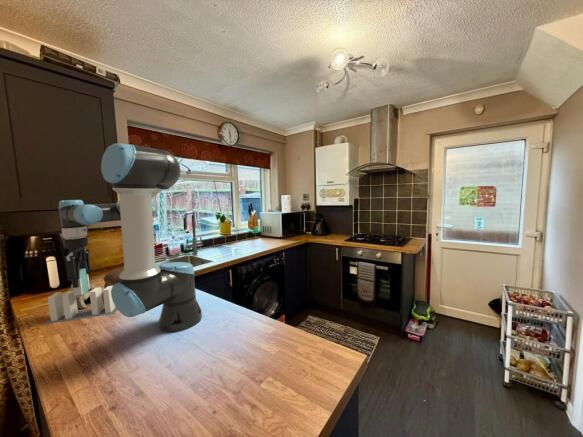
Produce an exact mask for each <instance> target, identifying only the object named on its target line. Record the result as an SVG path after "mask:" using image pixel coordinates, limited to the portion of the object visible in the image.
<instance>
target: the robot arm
mask: <svg viewBox="0 0 583 437" xmlns="http://www.w3.org/2000/svg"><path fill="white" fill-rule="evenodd" d="M101 158H102V159H101V163H100V165H101V166H100V169H101V175H102V176H103V179H104V180H105V181H106V182H107V183H110V184H111V187H112V190H113V191H115V192H116V193H117V194H118V200H117V201H116V202H115V203H114V202H113V203H99V204H98V203H97V204H96V203H95V204H93V203H92V204H91V203H90V204H84V201H83V200H82V199H67V200H66V199H65V200H63V199H62V200H59V201H58V211H59V219H60V226H61V236H62V238H63V240H62V242H63V243H62V244H63V248H64V249H66V250H67V249H68V255H65V256H63V259H64V262H65V268H66V269H65V270H66V276H67V281H69V282H71V285H73V293H74V295H82V294H83V291H82V283H81V279H79V274H80V269H83V268H86V277H87V285H88V289H90V286H91V285H90V279H89V274H92V268H91V261H90V249H89V248H85V247H87V246H88V245H89V238H88V237H87V236H88V230H89V229H88V228H87V226H89V225H95V224H98V223H99V224H100V223H108V222H109V223H110V222H120V227H121V239H122V240H121V241H122V242H121V244H122V254H123V268H124V270H123V271H122V272H121V273H120V274H119V283H116V284H115V285H114V286H113V287H112V289H111V296H112V300H113V302H114V304H115V306H116V308H117V309H118V310H117V311H118V312H119V313H120V314H121V315H122V316H125V317H127V318H134V317H136V316H139V315H142V314H145V313H146V312H148V311H150V310H152V309H155V308H157V307H159V306H162V309H161V312H160V316H159V320H158V324H159V329H160V330H161V331H164V332H179V331H184V330H186V329H189V328H191V327H194V326H195V325H197V324H198V323H199V322H200V321H201V320H202V318H203V314H202V313H203V312H202V308H201V307H200V305H199V302H198V300H197V298H196V297H197V295H196V285H195V284H196V283H195V271H194V266H193V264H192V263H191V262H184V261H183V262H182V261H173V262H167V263H166V262H164V263H162V264H159V266H157V265H156V255H155V253H156V252H155V239H154V238H155V237H154V235H155V234H154V219H153V218H154V217H153V202H152V201H153V200H152V199H153V198H154V197H156V196H157V195H158V194H159V193H161V192H162V191H164V190H165V191H167V190H168V189H170V188H172V187H173V186H175V184H176V183H177V182H178V181H179V179H180V176H181V165H180V163H179V161H178V160H177V158H176V157H175V156H174V155H173V154H171V152H168V151H166V150H164V149H160V148H159V149H157V148H152V147H148V146H147V147H146V146H141V145H135V144H132V143H130V144H129V143H118V142H116V143H112V144H110V145H109V146H108V147H107V148H106V149H105V151H104V153H103V155H102V157H101Z"/></svg>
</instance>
